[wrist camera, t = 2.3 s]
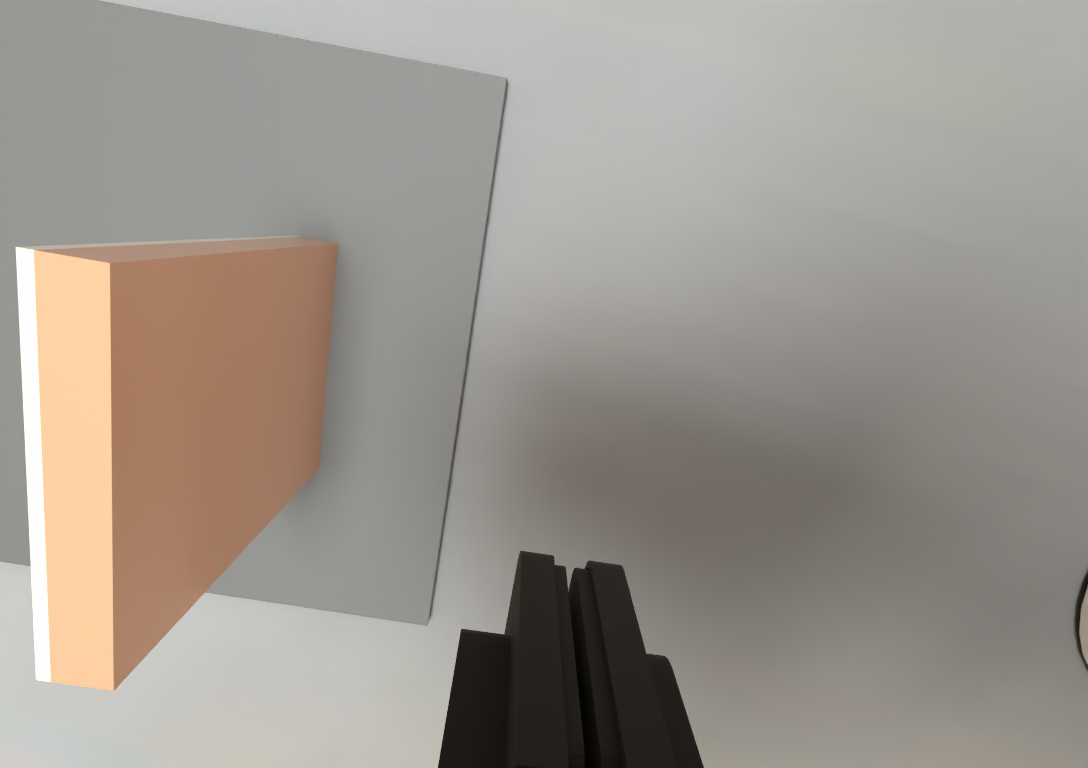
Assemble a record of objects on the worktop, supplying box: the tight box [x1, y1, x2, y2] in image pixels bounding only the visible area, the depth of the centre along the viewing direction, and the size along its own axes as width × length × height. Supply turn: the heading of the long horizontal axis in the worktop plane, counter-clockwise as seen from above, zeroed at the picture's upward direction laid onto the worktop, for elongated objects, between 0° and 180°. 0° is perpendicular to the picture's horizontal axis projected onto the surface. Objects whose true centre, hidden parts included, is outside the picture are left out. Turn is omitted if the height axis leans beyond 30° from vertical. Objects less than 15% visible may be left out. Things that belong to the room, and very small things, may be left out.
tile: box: [16, 235, 338, 691], centre depth 17 cm, size 2×9×12 cm, turn 170°
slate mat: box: [0, 0, 507, 626], centre depth 23 cm, size 20×22×1 cm
